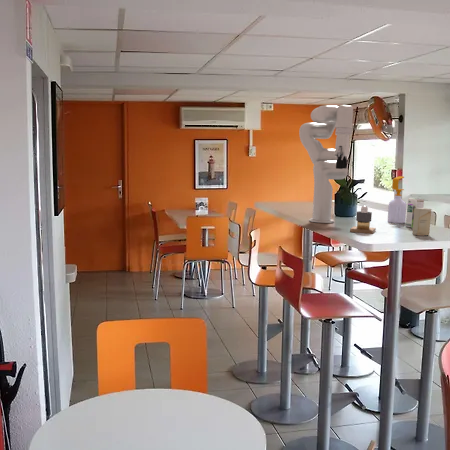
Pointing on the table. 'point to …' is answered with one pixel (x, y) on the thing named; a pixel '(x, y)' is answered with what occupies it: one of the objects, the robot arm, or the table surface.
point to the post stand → (363, 224)
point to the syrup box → (412, 210)
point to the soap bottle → (397, 205)
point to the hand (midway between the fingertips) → (341, 168)
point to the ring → (363, 216)
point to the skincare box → (421, 221)
